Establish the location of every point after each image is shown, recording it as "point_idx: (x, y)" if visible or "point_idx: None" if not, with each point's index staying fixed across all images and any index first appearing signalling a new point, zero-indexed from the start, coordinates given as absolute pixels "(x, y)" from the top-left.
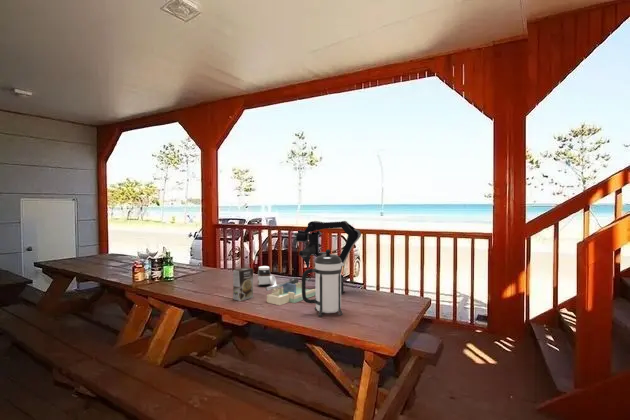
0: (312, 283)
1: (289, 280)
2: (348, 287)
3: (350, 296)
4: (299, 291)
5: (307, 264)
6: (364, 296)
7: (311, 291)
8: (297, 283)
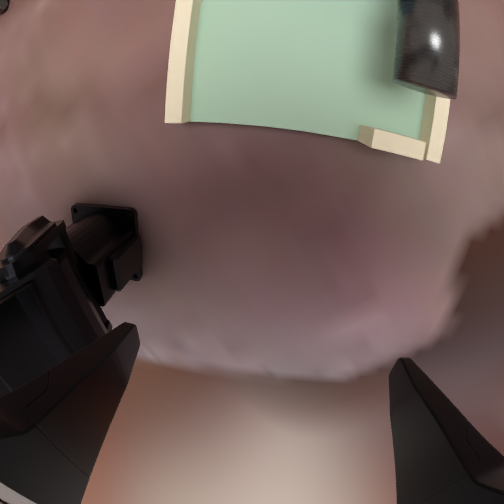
0: (371, 355)
1: (454, 2)
2: (140, 354)
3: (29, 209)
4: (311, 24)
5: (414, 404)
6: (6, 243)
7: (175, 33)
8: (420, 141)
